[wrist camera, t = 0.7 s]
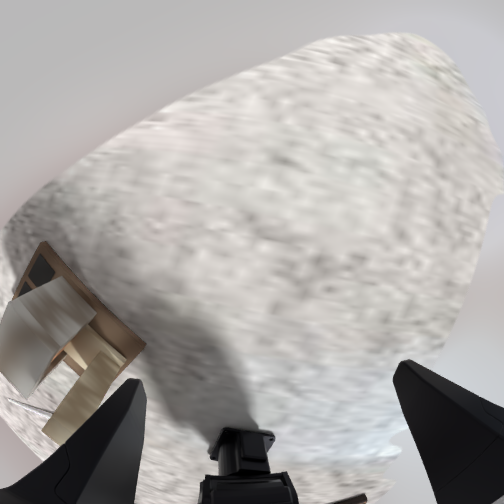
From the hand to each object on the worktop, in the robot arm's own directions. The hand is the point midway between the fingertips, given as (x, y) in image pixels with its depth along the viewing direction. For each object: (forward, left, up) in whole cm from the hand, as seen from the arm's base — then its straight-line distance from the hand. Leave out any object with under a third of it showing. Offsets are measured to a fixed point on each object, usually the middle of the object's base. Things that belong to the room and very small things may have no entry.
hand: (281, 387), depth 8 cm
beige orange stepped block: (-12, +13, -15) cm, 23 cm away
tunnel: (-10, +16, -16) cm, 25 cm away
